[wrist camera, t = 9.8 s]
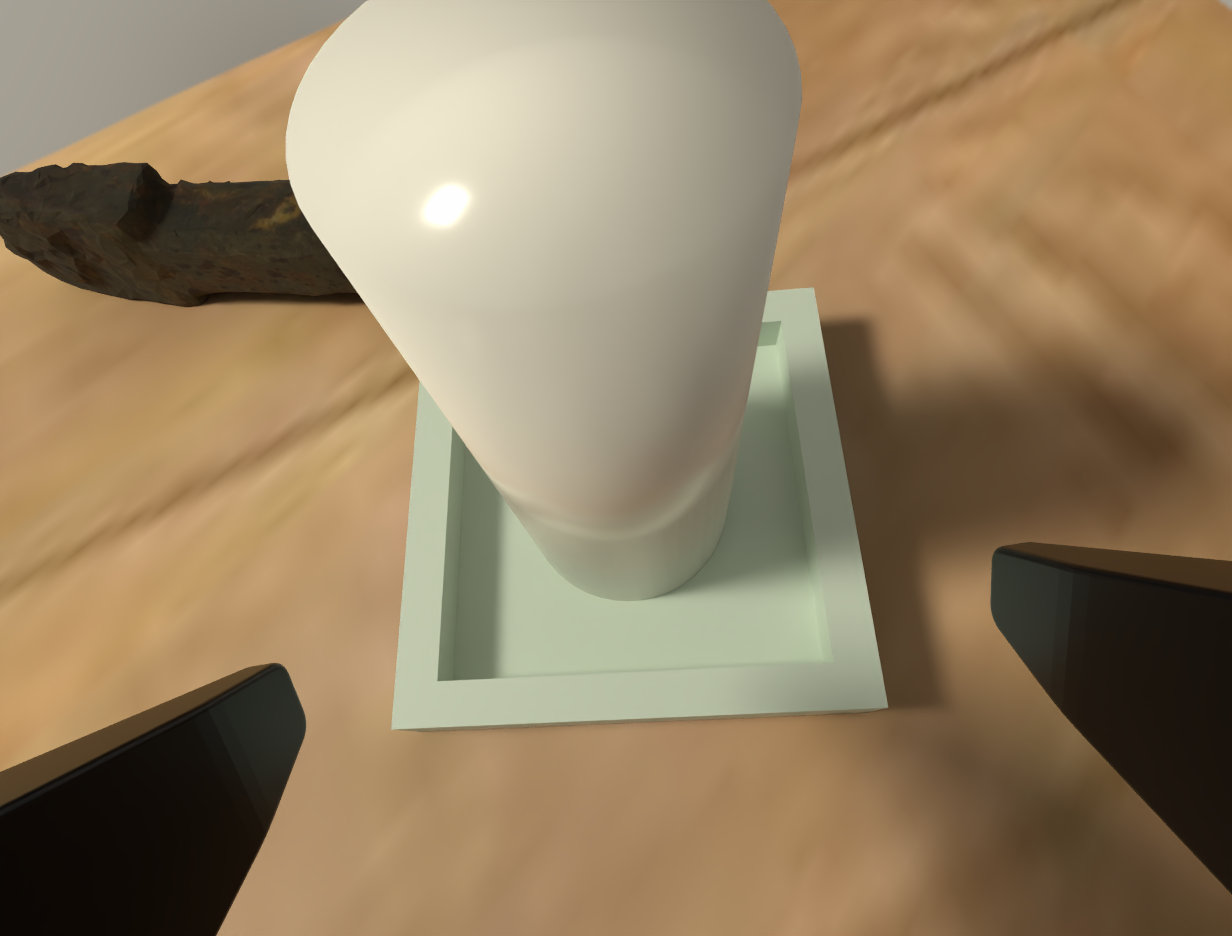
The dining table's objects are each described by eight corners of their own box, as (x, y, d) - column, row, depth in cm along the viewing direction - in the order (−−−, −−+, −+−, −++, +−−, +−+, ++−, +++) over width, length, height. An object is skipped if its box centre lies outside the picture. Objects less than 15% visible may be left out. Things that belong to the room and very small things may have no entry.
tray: (865, 712, 17) (888, 707, 15) (421, 731, 18) (391, 729, 16) (801, 328, 21) (813, 287, 19) (446, 357, 22) (424, 320, 20)
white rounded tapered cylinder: (768, 518, 18) (919, 101, 6) (608, 643, 17) (455, 422, 6) (644, 383, 20) (592, -129, 8) (495, 489, 19) (206, 86, 7)
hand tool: (603, 227, 23) (584, 109, 19) (591, 327, 22) (568, 224, 18) (98, 224, 26) (-19, 118, 21) (56, 314, 24) (-78, 220, 20)
